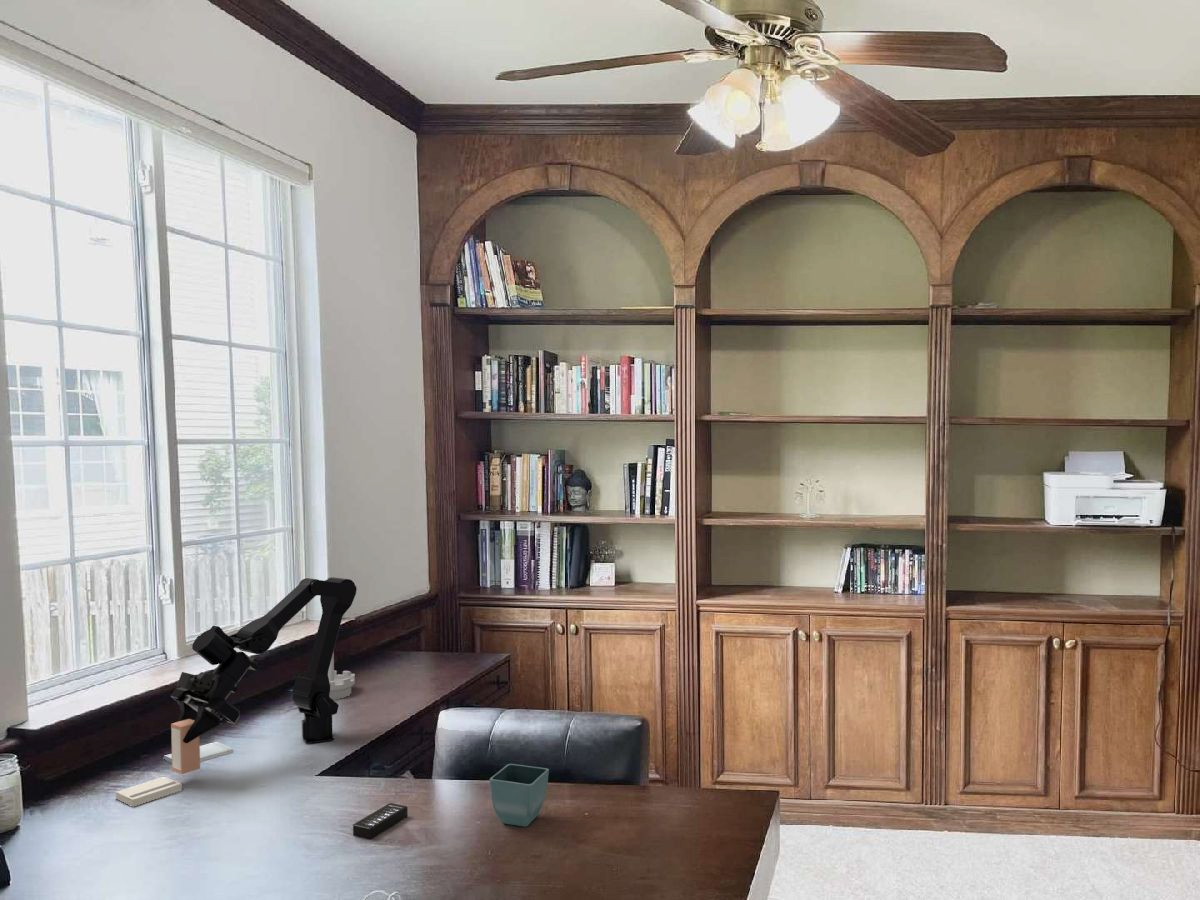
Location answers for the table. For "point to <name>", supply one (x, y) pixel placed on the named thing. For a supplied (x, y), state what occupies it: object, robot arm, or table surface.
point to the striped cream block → (148, 791)
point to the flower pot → (519, 793)
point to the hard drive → (209, 751)
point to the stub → (184, 748)
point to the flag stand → (339, 682)
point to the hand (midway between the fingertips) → (179, 740)
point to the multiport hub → (380, 821)
